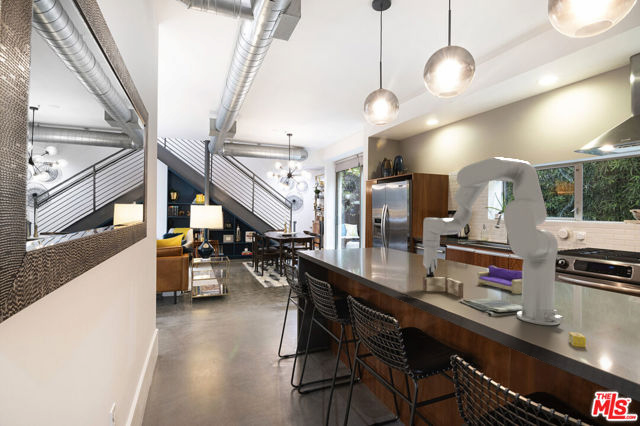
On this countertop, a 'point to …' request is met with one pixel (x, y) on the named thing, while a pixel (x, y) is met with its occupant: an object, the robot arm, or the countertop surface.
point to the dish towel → (493, 306)
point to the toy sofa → (502, 279)
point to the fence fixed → (454, 287)
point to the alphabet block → (577, 339)
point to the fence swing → (434, 283)
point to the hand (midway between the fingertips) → (430, 282)
